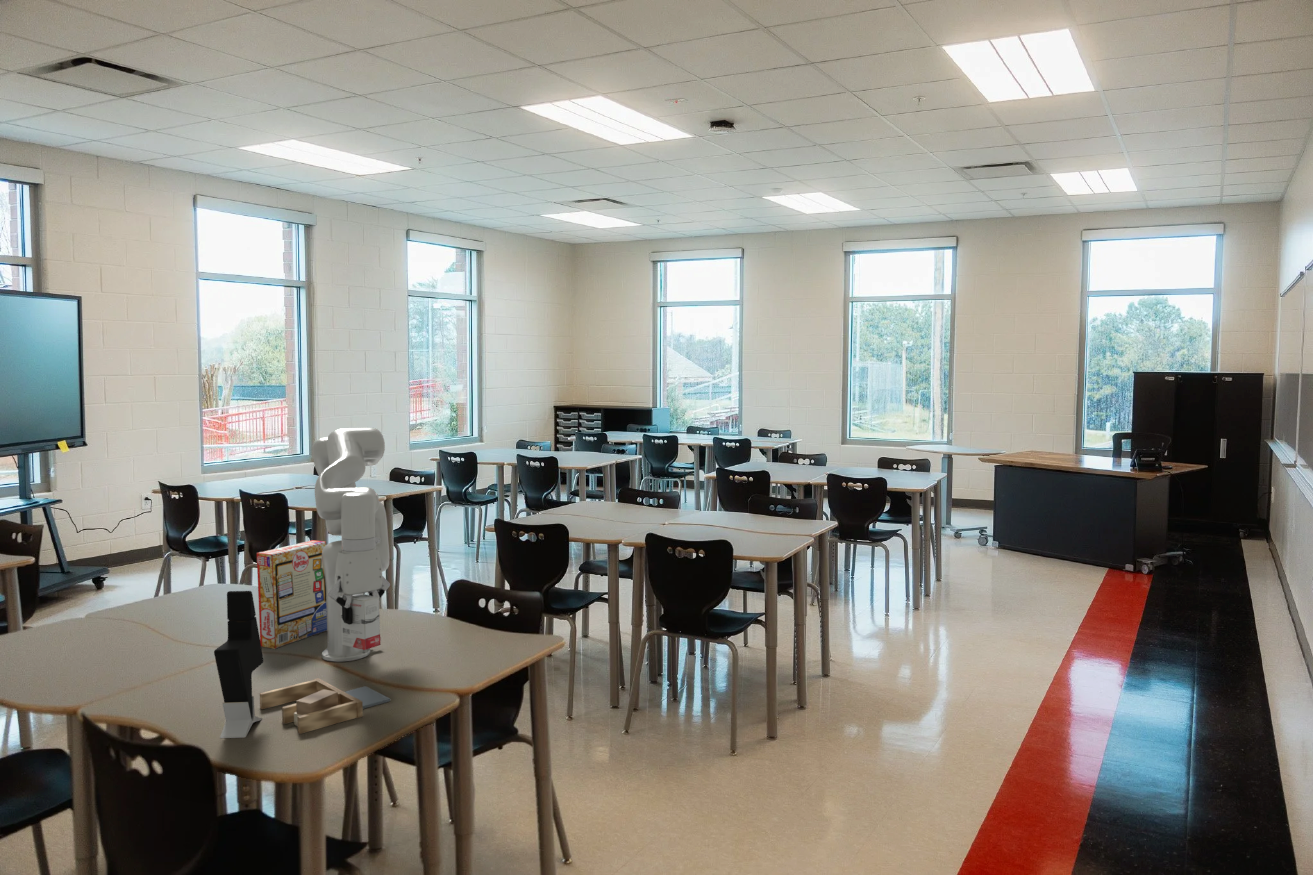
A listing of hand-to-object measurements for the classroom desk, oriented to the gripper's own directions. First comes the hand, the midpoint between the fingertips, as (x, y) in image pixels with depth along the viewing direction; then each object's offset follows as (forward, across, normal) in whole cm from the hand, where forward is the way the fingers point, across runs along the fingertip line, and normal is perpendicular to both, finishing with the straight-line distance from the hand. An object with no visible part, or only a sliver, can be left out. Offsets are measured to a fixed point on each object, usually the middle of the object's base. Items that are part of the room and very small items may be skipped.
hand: (360, 619), depth 215 cm
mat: (+19, 0, 0) cm, 19 cm away
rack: (+19, +13, -1) cm, 23 cm away
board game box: (+19, -10, -59) cm, 63 cm away
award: (+19, +27, -3) cm, 33 cm away
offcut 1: (+17, +13, +5) cm, 22 cm away
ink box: (+6, 0, 0) cm, 6 cm away
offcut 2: (+20, +13, +6) cm, 24 cm away
